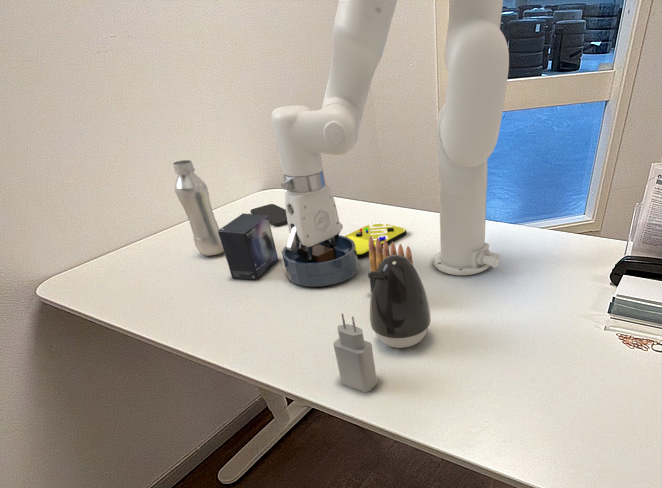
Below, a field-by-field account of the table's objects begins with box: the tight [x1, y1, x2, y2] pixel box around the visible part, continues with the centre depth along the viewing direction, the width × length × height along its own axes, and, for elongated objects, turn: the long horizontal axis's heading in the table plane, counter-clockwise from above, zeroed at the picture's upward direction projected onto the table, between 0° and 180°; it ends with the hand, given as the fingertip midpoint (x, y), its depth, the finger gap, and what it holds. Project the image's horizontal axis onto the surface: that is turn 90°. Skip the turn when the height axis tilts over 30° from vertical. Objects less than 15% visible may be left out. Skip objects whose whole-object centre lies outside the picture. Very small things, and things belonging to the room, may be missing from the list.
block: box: [305, 244, 335, 263], centre depth 102 cm, size 4×4×4 cm
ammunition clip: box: [368, 236, 414, 292], centre depth 90 cm, size 11×2×12 cm, turn 54°
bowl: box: [281, 234, 360, 288], centre depth 102 cm, size 15×15×6 cm
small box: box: [218, 213, 279, 281], centre depth 103 cm, size 11×6×10 cm, turn 168°
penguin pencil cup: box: [367, 254, 432, 349], centre depth 78 cm, size 10×10×15 cm
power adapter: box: [332, 313, 378, 393], centre depth 71 cm, size 3×5×12 cm, turn 60°
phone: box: [250, 203, 288, 227], centre depth 131 cm, size 7×1×15 cm
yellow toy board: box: [344, 222, 407, 260], centre depth 116 cm, size 18×11×2 cm, turn 146°
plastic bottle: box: [172, 159, 224, 257], centre depth 107 cm, size 6×7×20 cm
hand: (322, 269), depth 104 cm, fingers open, 4 cm apart
